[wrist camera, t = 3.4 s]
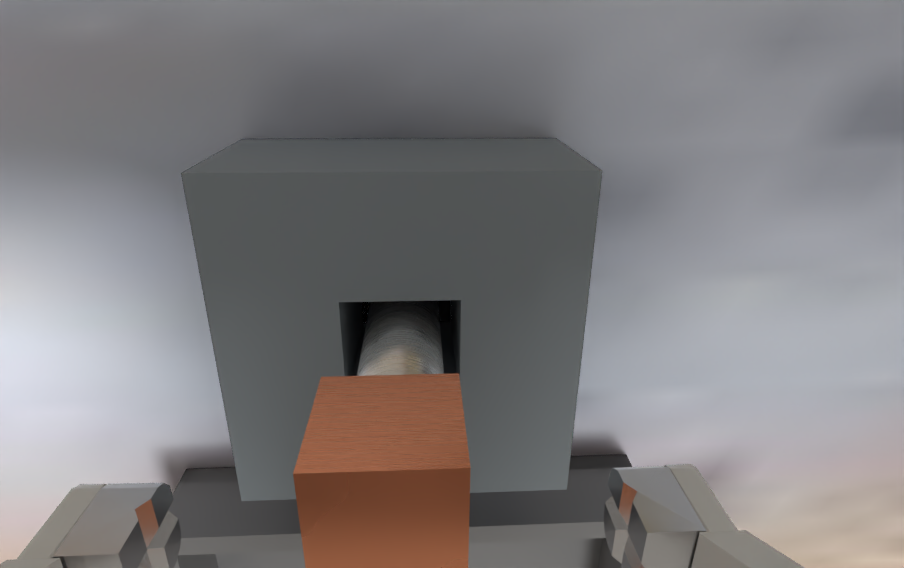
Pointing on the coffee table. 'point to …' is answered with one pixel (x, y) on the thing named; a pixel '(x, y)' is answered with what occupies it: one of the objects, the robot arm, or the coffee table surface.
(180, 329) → the coffee table surface
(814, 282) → the coffee table surface
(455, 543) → the pin
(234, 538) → the tray
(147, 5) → the coffee table surface
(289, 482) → the hitch block
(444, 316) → the coffee table surface
